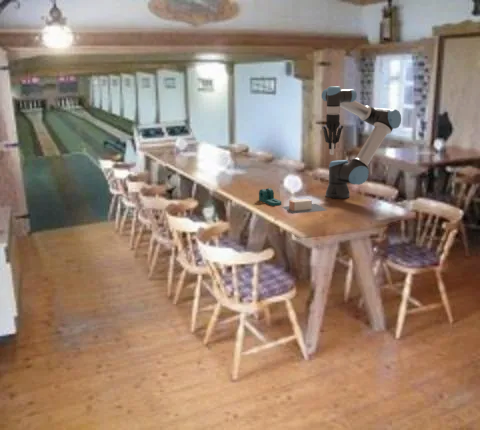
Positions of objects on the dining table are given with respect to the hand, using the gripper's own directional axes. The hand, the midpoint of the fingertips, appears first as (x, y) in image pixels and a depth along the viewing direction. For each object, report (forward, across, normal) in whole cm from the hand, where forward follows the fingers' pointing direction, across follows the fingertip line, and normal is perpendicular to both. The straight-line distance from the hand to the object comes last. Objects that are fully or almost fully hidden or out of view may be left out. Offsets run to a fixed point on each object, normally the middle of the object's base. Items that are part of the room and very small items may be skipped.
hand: (331, 154), depth 307 cm
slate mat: (+30, +19, +5) cm, 36 cm away
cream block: (+27, +16, +5) cm, 32 cm away
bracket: (+31, +32, -16) cm, 47 cm away
